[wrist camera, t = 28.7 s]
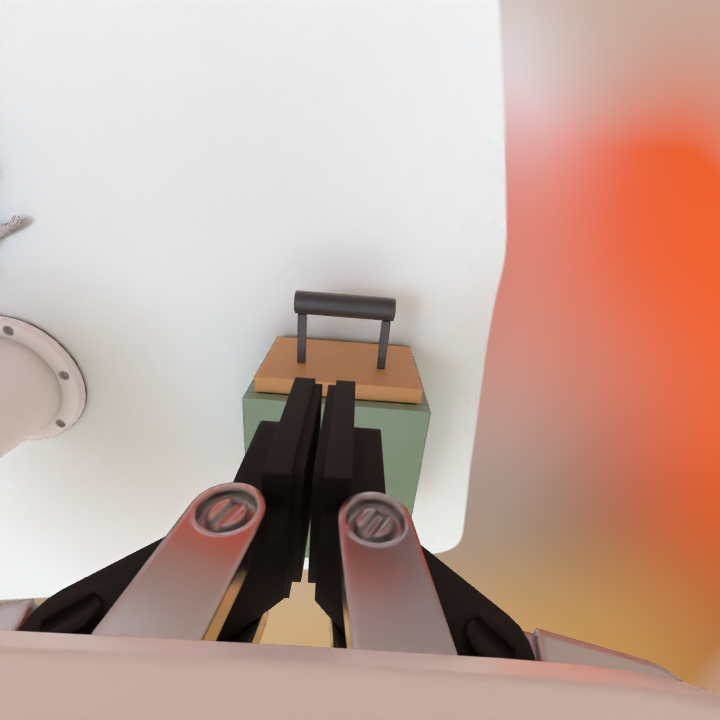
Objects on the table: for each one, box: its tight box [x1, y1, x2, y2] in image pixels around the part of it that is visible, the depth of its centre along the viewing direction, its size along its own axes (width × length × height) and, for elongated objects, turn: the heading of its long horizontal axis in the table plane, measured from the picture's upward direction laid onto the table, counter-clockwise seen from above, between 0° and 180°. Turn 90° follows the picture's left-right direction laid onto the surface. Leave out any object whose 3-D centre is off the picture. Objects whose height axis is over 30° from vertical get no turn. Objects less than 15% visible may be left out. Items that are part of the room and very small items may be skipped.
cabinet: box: [242, 356, 431, 557], centre depth 33 cm, size 15×13×10 cm
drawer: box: [254, 290, 423, 404], centre depth 32 cm, size 19×12×8 cm, turn 175°
